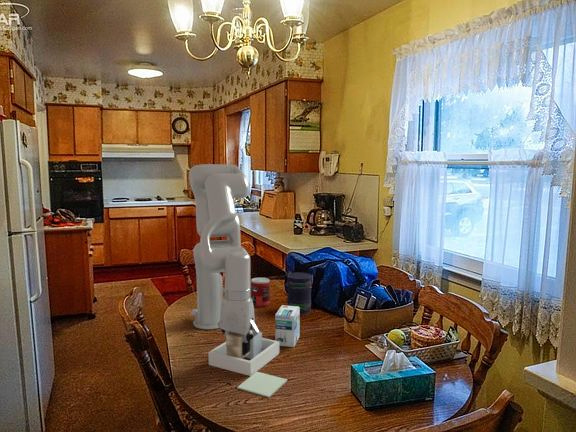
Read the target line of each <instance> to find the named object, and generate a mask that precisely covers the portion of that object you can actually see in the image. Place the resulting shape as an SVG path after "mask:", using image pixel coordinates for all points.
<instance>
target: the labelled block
mask: <svg viewBox="0 0 576 432" xmlns="http://www.w3.org/2000/svg"><path fill="white" fill-rule="evenodd" d="M246 335H247V334H246ZM225 342H226V352H227V355H229V356H233V357H237V358H241V359H245V356H247V355H248V354H249V352H248V353H247V354H246V355H242V343H243V342H244V340H243V336H242V334H238V333H234V332H229V333H228V334H226V338H225Z"/></svg>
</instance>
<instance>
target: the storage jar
mask: <svg viewBox="0 0 576 432" xmlns="http://www.w3.org/2000/svg"><path fill="white" fill-rule="evenodd" d="M286 287H287V297H286V298H287V299H286V300H287V301H286V306H298V307H300V316H303V315H308V314H309V313H311V311H312V310H311V309H312V308H311V307H312V297H311V289H312V274H310V273H307V272H298V271H297V272H290V273H288V274H287V282H286Z"/></svg>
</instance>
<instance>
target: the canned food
mask: <svg viewBox="0 0 576 432" xmlns="http://www.w3.org/2000/svg"><path fill="white" fill-rule="evenodd" d="M270 284H271V283H270V279H269V278H267V277H253V278H250V298H252V301H253V306H254V308H266V307H268V306H270V292H271V291H270V286H271V285H270Z"/></svg>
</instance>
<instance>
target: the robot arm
mask: <svg viewBox="0 0 576 432" xmlns="http://www.w3.org/2000/svg"><path fill="white" fill-rule="evenodd" d="M188 174H189V175H188V181H189V186H190V188H191V191H192V193H193V196H194V199H195V200H194V201H195V220H196V222H195V223H196V231H197V234H198V235H199V237H200V238H199V239H200V241H199V242H198V243H196V244H195V246H194V247H193V259H194V265H195V274H196V306H197V308H193V309H191V312H190V313H189V314H190V317H191V316H192V317H195V319H194V320H193V322H192V323H193V327H195V328H196V329H198V330H199V329H200V330H216V329H220V330H221V333H222V334H223V336H224V338H225V339H226V334H228V333H229V332H234V333H238V334H242V336H243V340H244V342H243V343H242V355H246V354H247V353H248V352H249V351H250V340H251V339H252V338H253V337H255V336H256V335H258V334H259V333H260V332H261V331H260V330H259V329H258V327H257V325H256V319H255V318H256V317H255V316H256V315H255V307H254V306H253V301H252V298H251V255H250V254H249V252H248V251H247V250H246V248H244V247H242V243H241V241H242V239H241V222H240V218H239V216H238V214H237V212H236V206H235V200H234V199H244V198H246V197H247V196H248V194H249V191H250V189H249V188H250V185H249V181H248V178H247V176H246V175H245V173H244V172H243V171H242V170H241V169H240V168H239V167H238V166H237V165H236V164H226V163H225V164H222V163H220V164H218V163H215V164H212V163H208V164H207V163H206V164H205V163H204V164H196V165H193V166H192V167H191V168H190V170H189V172H188ZM220 237H221V238H222V237H226V239H222V240H221V239H219V240H218V239H216V240H211V238H220ZM221 273H224V287H223V277H222V274H221ZM223 294H224V295H223ZM250 330H252V331H253V333H252V334H251V332H250ZM246 334H247V335H246Z"/></svg>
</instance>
